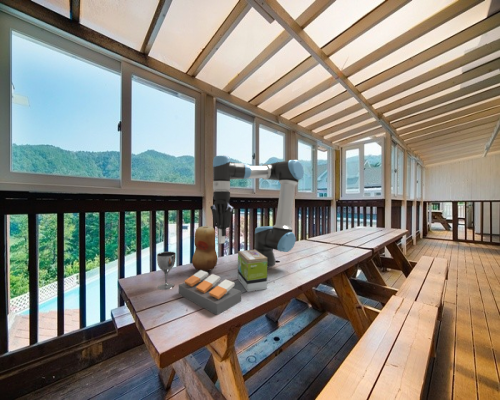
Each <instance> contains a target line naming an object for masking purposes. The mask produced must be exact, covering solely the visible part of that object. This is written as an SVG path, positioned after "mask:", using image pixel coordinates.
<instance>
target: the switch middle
mask: <svg viewBox="0 0 500 400" xmlns="http://www.w3.org/2000/svg"><path fill="white" fill-rule="evenodd" d="M221 279H222V278H221V276H219V275H216V274H214V273H212V274H210V275H208V276H207V279H205V280H204V281H203V282H201V283H200V284H199V285H198V286H196V289H197V290H199V291H201V292H203V293H205V292H207V291H208V290H209V289H210V288H212V287H213V286H214V285H215V284H216V283H217V282H220V280H221Z"/></svg>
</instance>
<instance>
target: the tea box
mask: <svg viewBox="0 0 500 400" xmlns="http://www.w3.org/2000/svg"><path fill="white" fill-rule="evenodd" d="M237 280H238V281H239V282H240V283H241V285H242V287H243V288H244V289H245V291H246V292H247V293H249V291H250V292H255V290H256V291H262V290H267V289H268V266H267V257H265V256H264V255H262V254H261V253H259V252H258V251H257V250H255V249H249V250H238V251H237Z"/></svg>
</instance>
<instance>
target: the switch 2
mask: <svg viewBox="0 0 500 400" xmlns="http://www.w3.org/2000/svg"><path fill="white" fill-rule="evenodd" d="M235 285H236V284H235V282H234V281H231V280H229V279H224V280H223V281H221V282H220V284H219V285H218V286H216V287H215V288H214V289H213V290H211V291H210V292H209V295H210V296H212V297H215V298H217V299H220V298H221V297H222V296H223V295H224V294H226V293H227V292H228V291H229V290H230V289H231V288H235Z"/></svg>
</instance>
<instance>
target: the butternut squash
mask: <svg viewBox="0 0 500 400" xmlns="http://www.w3.org/2000/svg"><path fill="white" fill-rule="evenodd" d="M194 231H195V233H194V245H195V246H194V247H195V250H194V253H193V255H192V259H191V260H192V261H191V263H192V266H193V268H194V269H195V270H197V271H198V272H199V271H200V270H202V271H205V272H208V271H210V270H214V269H215V268H216V266H217V262H218V254H217V250H216V230H215V228H214V226H211V225H202V226H199V227H198V228H196V229H195V230H194Z"/></svg>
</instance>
